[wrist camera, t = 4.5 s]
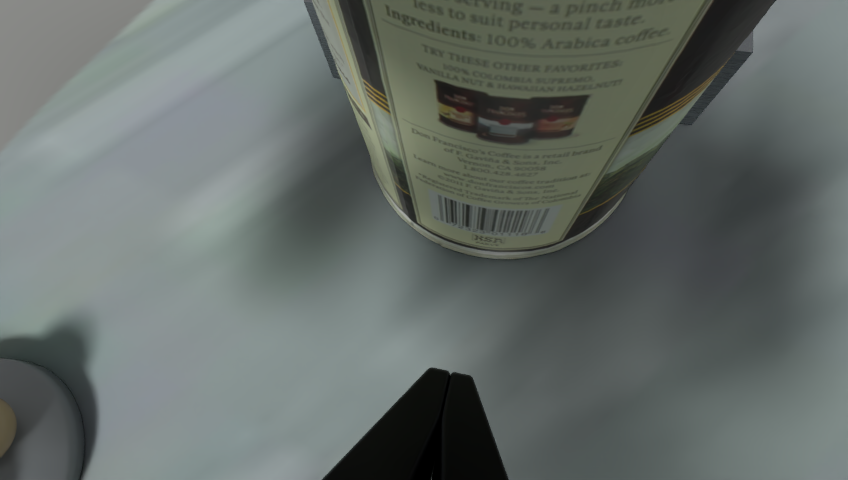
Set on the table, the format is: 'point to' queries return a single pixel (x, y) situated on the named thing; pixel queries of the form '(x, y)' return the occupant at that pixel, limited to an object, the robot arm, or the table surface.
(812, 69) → the table surface
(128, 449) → the table surface
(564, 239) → the coffee can
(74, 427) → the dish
